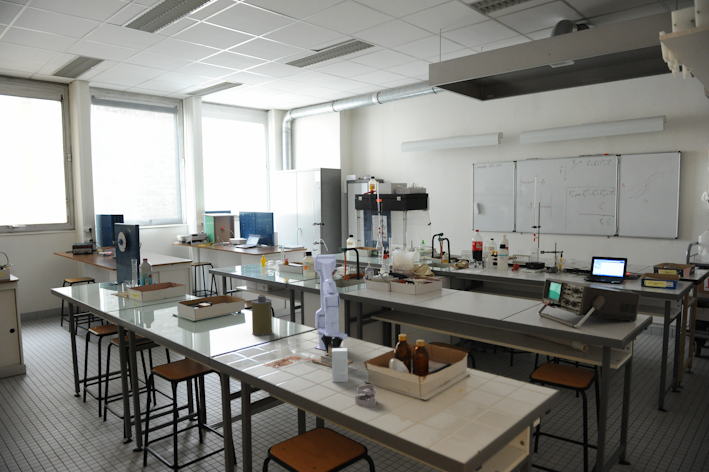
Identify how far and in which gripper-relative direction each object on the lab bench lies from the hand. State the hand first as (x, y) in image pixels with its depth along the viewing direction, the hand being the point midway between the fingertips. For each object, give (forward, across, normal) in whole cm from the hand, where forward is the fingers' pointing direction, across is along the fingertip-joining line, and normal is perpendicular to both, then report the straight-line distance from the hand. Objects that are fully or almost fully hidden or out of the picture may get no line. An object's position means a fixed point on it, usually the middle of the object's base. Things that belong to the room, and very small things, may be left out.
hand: (332, 353), depth 200 cm
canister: (+4, -59, +16) cm, 61 cm away
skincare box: (+4, +15, -14) cm, 21 cm away
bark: (+4, -15, -11) cm, 19 cm away
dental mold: (+4, +35, -26) cm, 44 cm away
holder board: (+4, 0, 0) cm, 4 cm away
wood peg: (+2, 0, 0) cm, 2 cm away
